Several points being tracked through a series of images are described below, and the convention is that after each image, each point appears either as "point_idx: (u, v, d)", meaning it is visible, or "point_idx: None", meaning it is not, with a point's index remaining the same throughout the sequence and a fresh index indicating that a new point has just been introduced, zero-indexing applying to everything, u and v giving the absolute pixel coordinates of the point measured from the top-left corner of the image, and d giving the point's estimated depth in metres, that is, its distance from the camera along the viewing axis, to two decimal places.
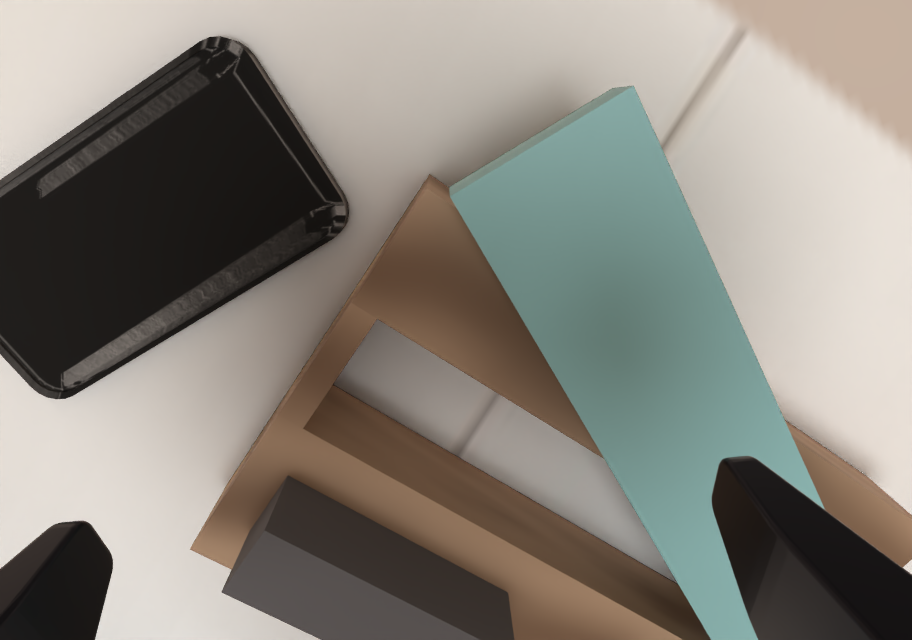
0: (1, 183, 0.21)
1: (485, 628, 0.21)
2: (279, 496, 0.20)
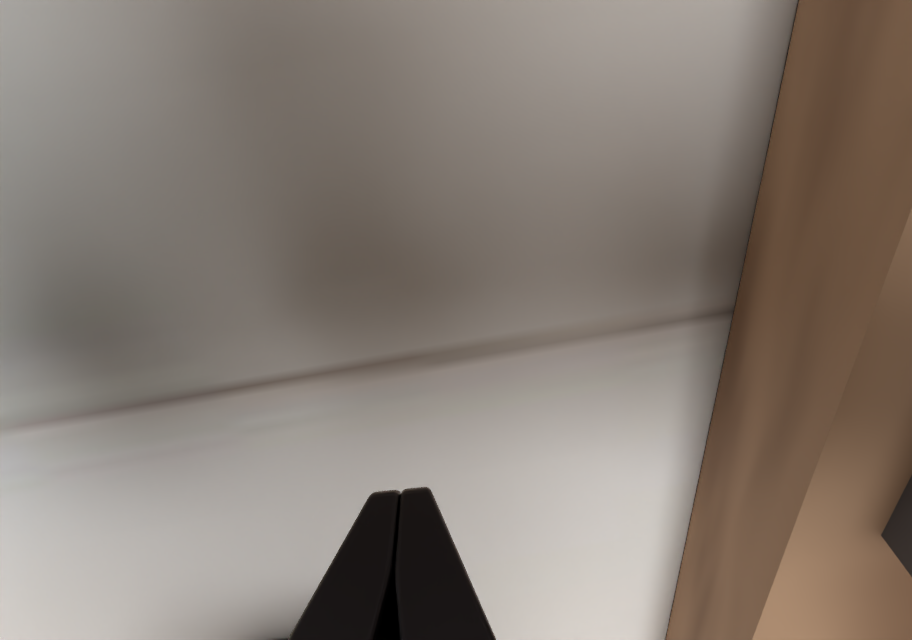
0: None
1: None
2: None
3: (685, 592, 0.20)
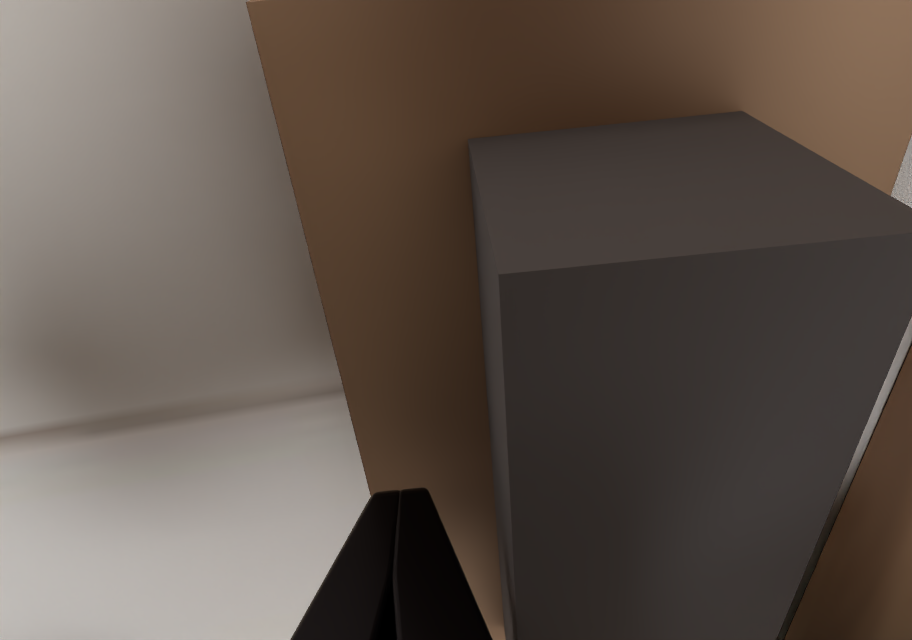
0: None
1: None
2: (800, 148, 0.05)
3: None
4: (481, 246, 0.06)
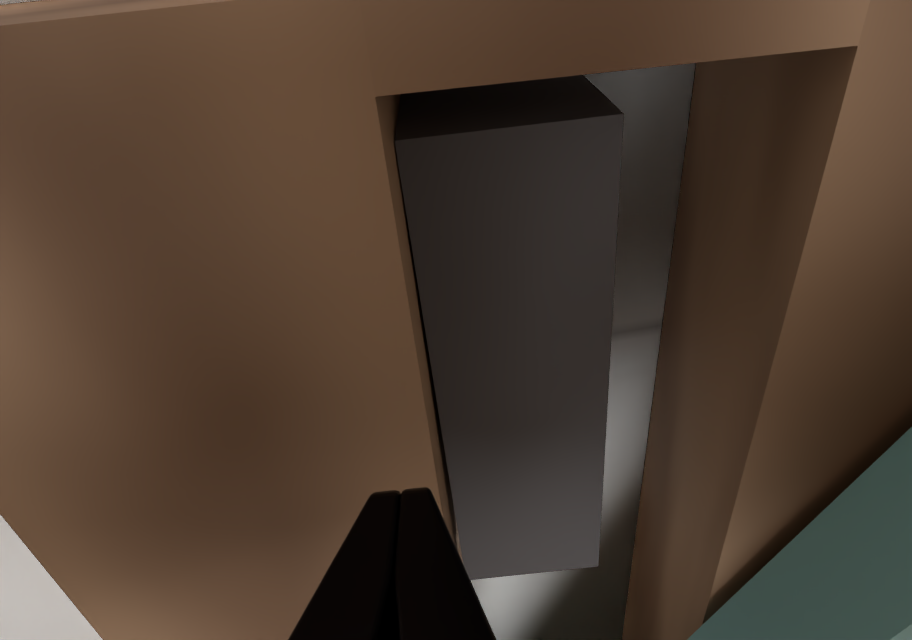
0: None
1: None
2: None
3: None
4: (490, 181, 0.08)
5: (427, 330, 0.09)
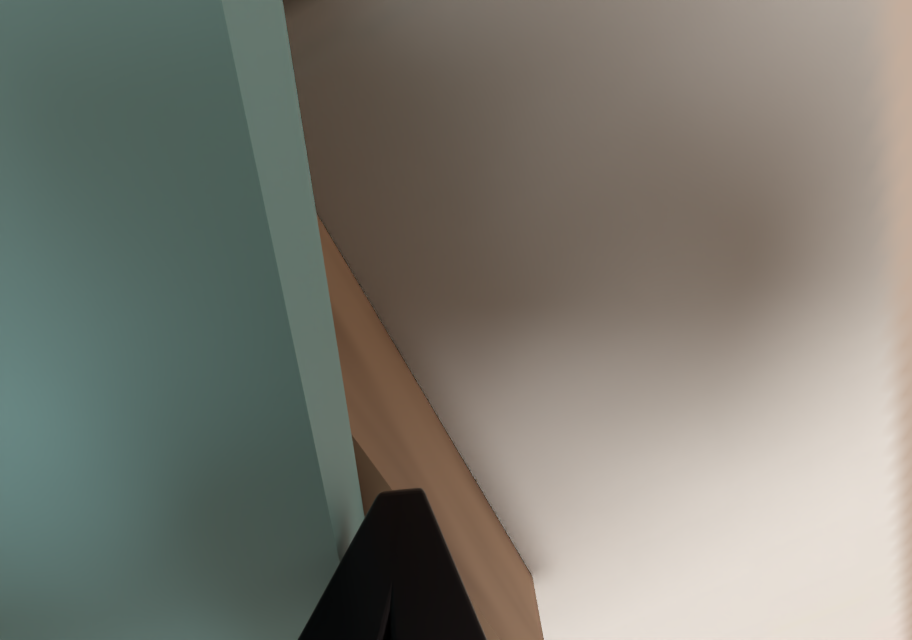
0: None
1: None
2: None
3: None
4: None
5: None
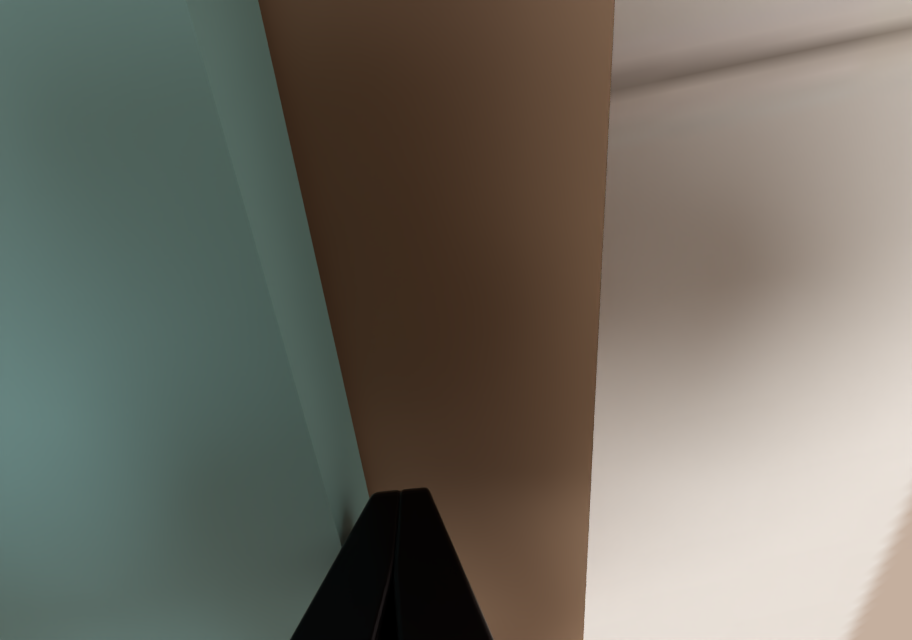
0: None
1: None
2: None
3: None
4: None
5: None
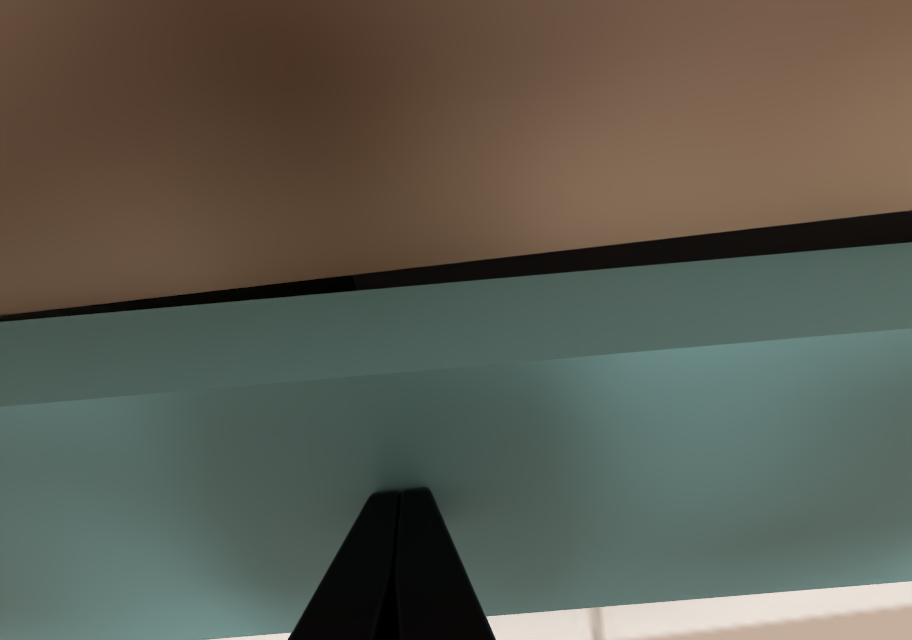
0: None
1: None
2: None
3: None
4: None
5: None
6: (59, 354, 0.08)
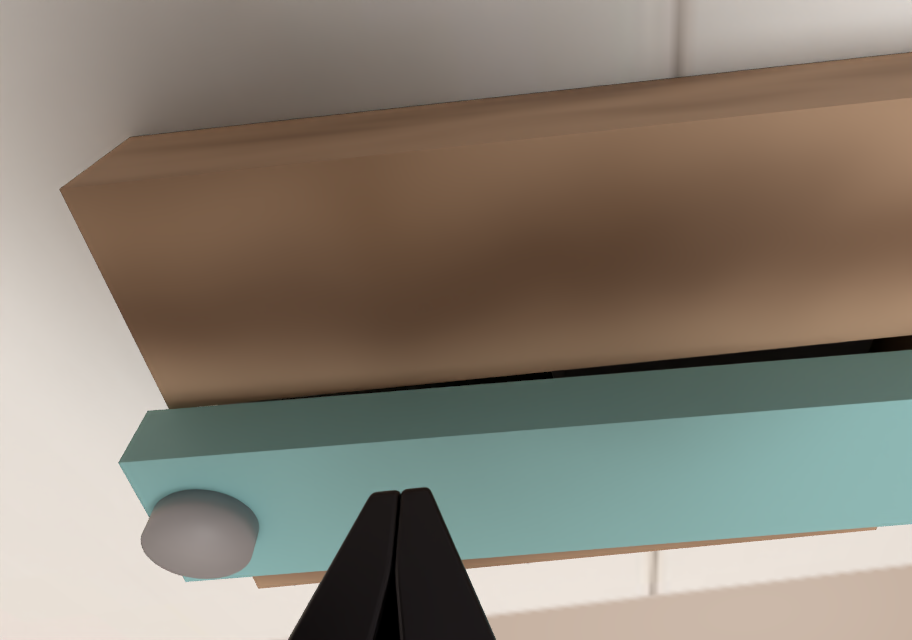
0: None
1: None
2: None
3: (293, 124, 0.16)
4: (849, 347, 0.19)
5: None
6: (455, 409, 0.16)
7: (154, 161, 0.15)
